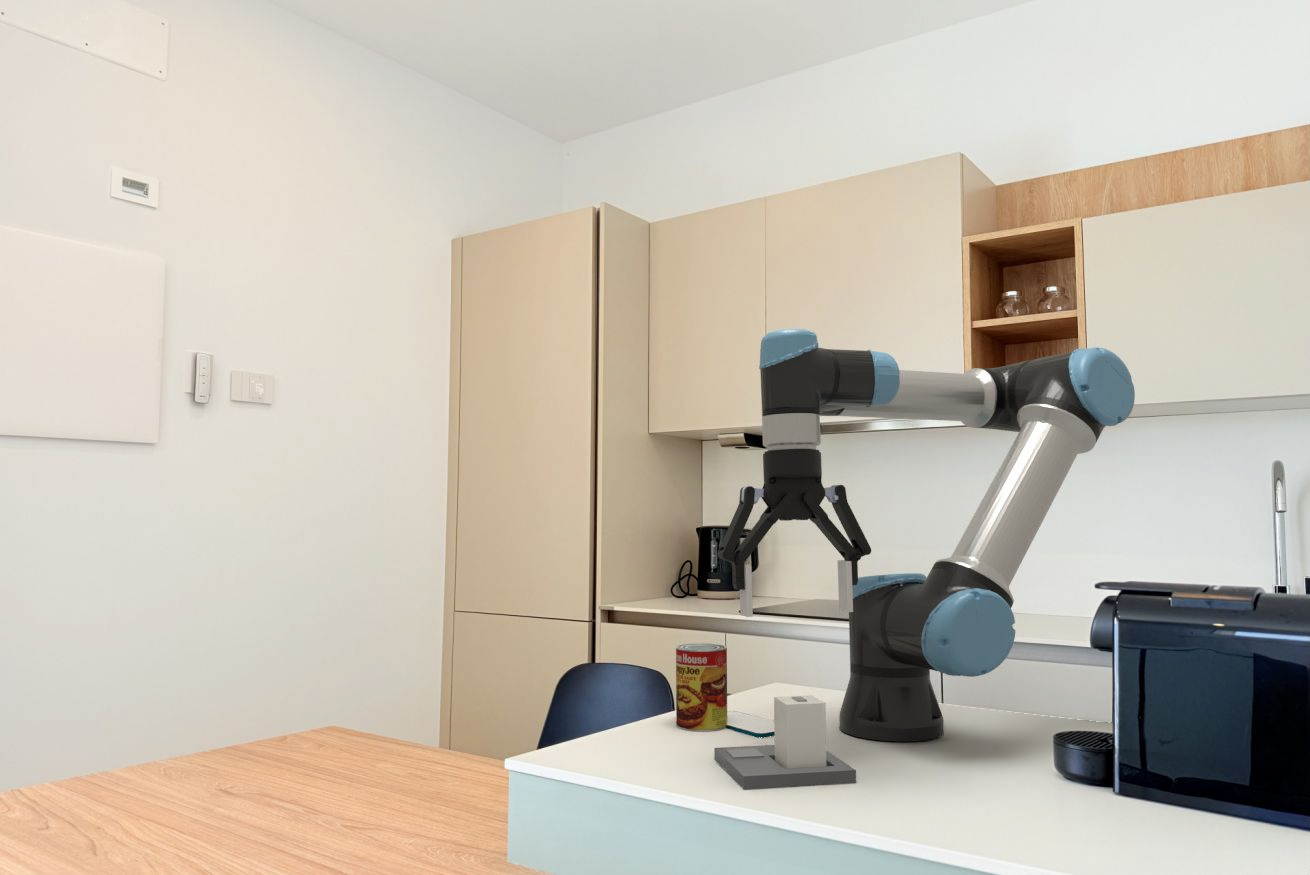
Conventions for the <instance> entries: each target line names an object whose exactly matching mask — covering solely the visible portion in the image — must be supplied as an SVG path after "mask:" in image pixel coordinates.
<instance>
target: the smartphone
mask: <svg viewBox="0 0 1310 875" xmlns="http://www.w3.org/2000/svg"><path fill="white" fill-rule="evenodd" d="M725 729H728V730H729V731H730V730H731V731H733V732H737V733H740V734H742V735H748V736H749V737H753V736H754V738H757V739H760V738H761V737H762V738H761V739H764V737H766V738H770V736H771V737H775V730H774V720H771V719H768V718H764V717H760V716H756V715H752V714H748V713H744V712H740V711H737V710H729V711H728V710H727V724H726V728H725ZM759 737H760V738H759Z"/></svg>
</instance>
